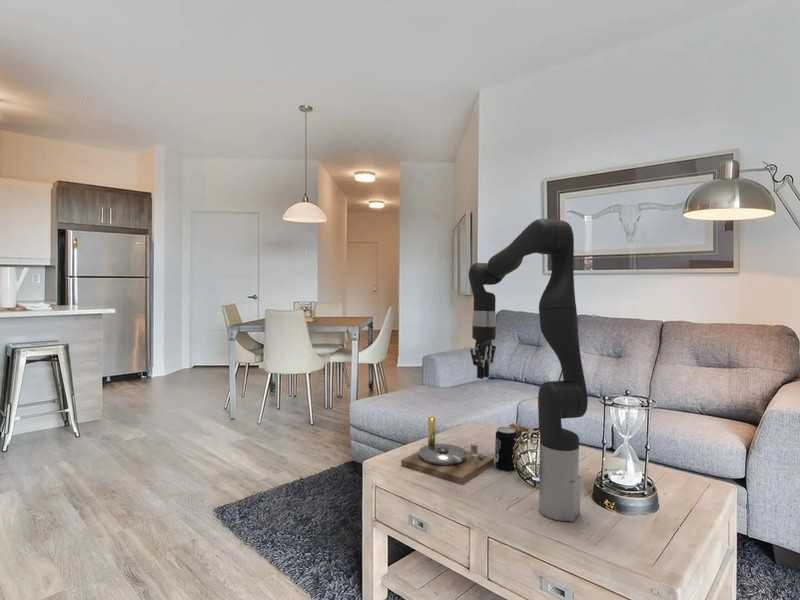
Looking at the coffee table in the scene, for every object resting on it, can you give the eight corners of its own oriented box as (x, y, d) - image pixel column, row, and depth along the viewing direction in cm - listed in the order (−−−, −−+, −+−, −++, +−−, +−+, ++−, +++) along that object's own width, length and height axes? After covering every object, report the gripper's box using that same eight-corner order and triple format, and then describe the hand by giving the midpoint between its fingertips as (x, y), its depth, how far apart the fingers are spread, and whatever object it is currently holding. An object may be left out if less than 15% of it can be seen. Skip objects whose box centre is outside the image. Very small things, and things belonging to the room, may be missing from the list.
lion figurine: (507, 450, 163) (507, 424, 163) (509, 445, 168) (509, 420, 168) (551, 456, 158) (552, 429, 158) (552, 450, 163) (552, 425, 163)
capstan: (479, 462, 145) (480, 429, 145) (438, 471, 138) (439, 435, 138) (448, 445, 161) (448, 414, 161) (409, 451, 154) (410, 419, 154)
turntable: (494, 464, 150) (494, 448, 150) (462, 484, 134) (462, 467, 134) (436, 448, 164) (436, 434, 164) (401, 465, 148) (401, 450, 148)
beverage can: (511, 473, 143) (511, 434, 143) (491, 468, 147) (492, 430, 147) (519, 466, 148) (520, 429, 148) (500, 461, 152) (501, 425, 152)
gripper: (484, 326, 145) (483, 382, 145) (504, 324, 156) (503, 376, 157) (463, 325, 149) (462, 379, 150) (483, 322, 161) (482, 373, 161)
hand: (483, 377), depth 153 cm, fingers open, 3 cm apart
